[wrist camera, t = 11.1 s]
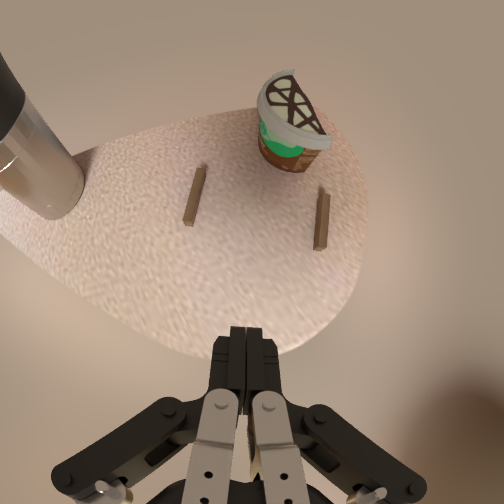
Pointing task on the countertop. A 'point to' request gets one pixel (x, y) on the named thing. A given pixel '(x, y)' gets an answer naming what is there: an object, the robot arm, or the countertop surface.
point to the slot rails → (321, 218)
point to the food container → (288, 125)
